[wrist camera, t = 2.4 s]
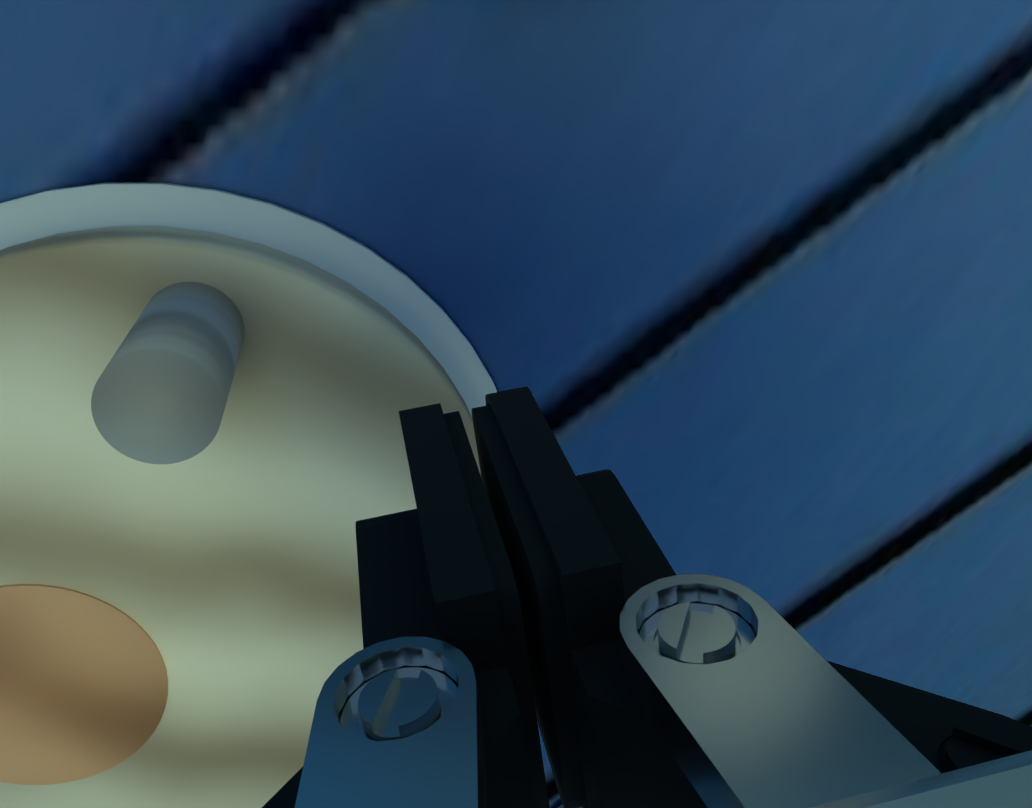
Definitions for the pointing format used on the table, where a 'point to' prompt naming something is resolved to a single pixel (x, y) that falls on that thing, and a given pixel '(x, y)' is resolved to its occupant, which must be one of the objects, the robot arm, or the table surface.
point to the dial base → (256, 225)
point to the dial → (185, 509)
